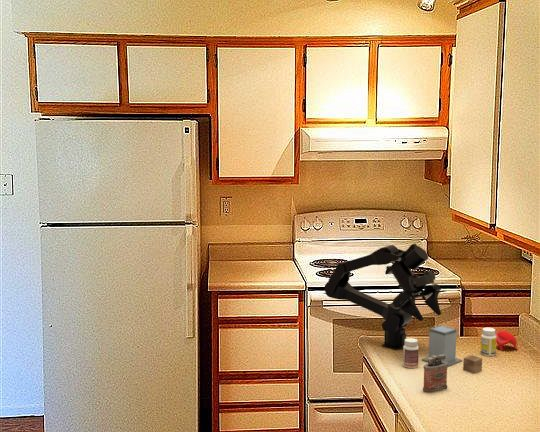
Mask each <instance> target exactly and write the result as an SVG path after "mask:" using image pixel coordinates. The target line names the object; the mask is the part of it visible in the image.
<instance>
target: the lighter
mask: <svg viewBox="0 0 540 432" xmlns="http://www.w3.org/2000/svg"><path fill="white" fill-rule="evenodd" d="M445 359H446V356H445V355H444V354H442V355H438V356H435V355H432V357H430V358H428V360H427V362H426V364H423V386H422V392H423V393H426V394H430V393H431V394H432V393H436V392H441V391H445V390H447V389H448V383H447V381H448V380H447V379H448V367H447V366H448V363H447V362H445V361H442V360H445Z"/></svg>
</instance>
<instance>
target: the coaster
mask: <svg viewBox="0 0 540 432" xmlns="http://www.w3.org/2000/svg"><path fill="white" fill-rule="evenodd" d="M428 358H429V355H427V356H426V357H423V358H421V361H422V362H426V363H428V362H427V360H428ZM461 362H463V359H462V358H458V357H455V360H453V361H451V362H448V366H447V368H449V367H452V366H454V365H456V364H459V363H461Z"/></svg>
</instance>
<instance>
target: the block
mask: <svg viewBox="0 0 540 432" xmlns="http://www.w3.org/2000/svg"><path fill="white" fill-rule="evenodd" d="M462 362H463V364H462V370H463V371H464V372H468V373H471V374H477V373H480V372H481V371H482V370H483V369H482V368H483V358H482V357H479V356H476V355H473V354H470V355H467V356H465V357H463V359H462Z"/></svg>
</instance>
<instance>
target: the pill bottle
mask: <svg viewBox="0 0 540 432" xmlns="http://www.w3.org/2000/svg"><path fill="white" fill-rule="evenodd" d="M418 344H419V340H418V339H416V338H412V337H409V338H407V337H406V339H405V345H404V346H403V348H402V365H403V367H405V368H407V369H416V368H418V367H419V351H420V350H419V349H420V347H419V346H418Z"/></svg>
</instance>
